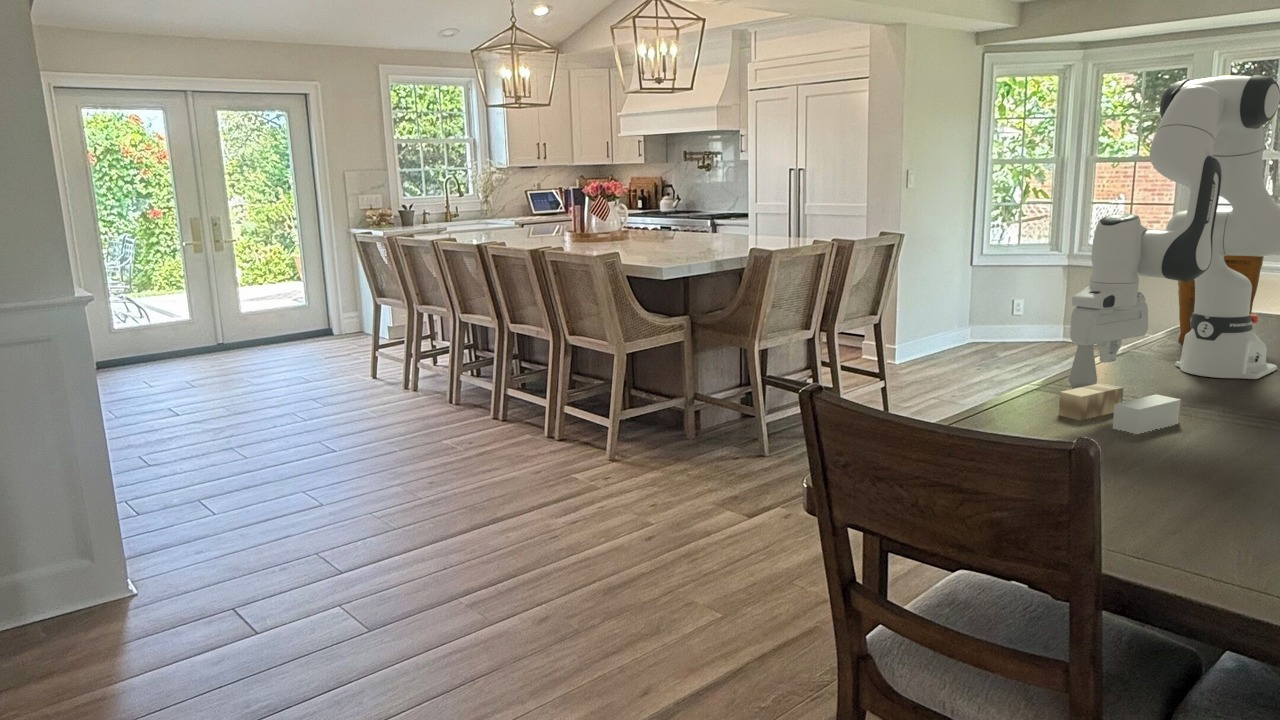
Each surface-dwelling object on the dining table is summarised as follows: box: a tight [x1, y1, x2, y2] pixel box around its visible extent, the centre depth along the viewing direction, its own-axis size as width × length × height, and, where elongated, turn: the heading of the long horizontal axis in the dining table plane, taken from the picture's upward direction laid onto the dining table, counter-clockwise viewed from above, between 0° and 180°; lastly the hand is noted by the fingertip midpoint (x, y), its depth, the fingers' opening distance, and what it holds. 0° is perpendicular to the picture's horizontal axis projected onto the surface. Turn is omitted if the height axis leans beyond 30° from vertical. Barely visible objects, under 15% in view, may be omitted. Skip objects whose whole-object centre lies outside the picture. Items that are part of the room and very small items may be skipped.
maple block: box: [1058, 382, 1124, 422], centre depth 183 cm, size 5×5×13 cm
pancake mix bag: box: [1177, 255, 1265, 344], centre depth 239 cm, size 7×19×28 cm, turn 53°
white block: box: [1112, 393, 1182, 435], centre depth 173 cm, size 5×5×13 cm
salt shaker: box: [1068, 344, 1098, 389], centre depth 200 cm, size 6×6×13 cm
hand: (1107, 361), depth 183 cm, fingers closed
